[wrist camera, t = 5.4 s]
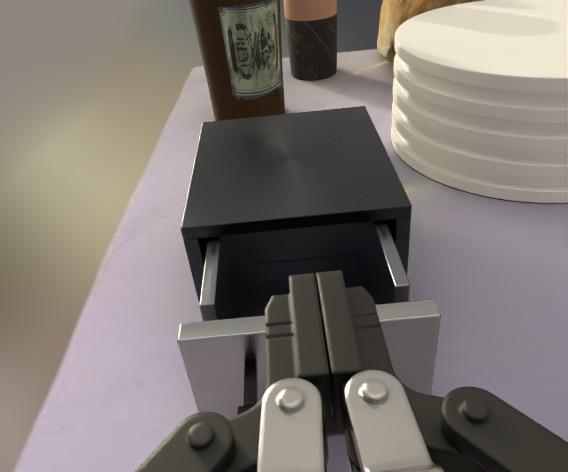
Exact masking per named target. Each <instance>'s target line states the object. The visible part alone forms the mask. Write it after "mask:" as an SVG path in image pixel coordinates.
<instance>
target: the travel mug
mask: <svg viewBox="0 0 568 472" xmlns="http://www.w3.org/2000/svg"><path fill="white" fill-rule="evenodd" d="M336 7H337V6H336V0H284V10H285V21H286V29H287V39H288V48H289V57H290V66H291V73H292V76H293V77H294V78H297V79H301V80H319V79H324V78H328V77H330V76H332V75H334V74H335V73H336V68H337V14H336V13H337V8H336Z"/></svg>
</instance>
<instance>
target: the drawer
mask: <svg viewBox="0 0 568 472" xmlns="http://www.w3.org/2000/svg"><path fill="white" fill-rule="evenodd" d="M338 270H341V271H342V274H343V278H344V283H345V287H346V288H351V287H361V286H362V287H363V288H364V289H365V290H366V291H367V292H368V293H369V294H370V295H371V296H372V297H373V299H374V303H375V306H376V310H377V315H378V317H379V320H380V324H381V328H382V331H383V335H384V338H385V342H386V345H387V349H388V353H389V356H390V360H391V363H392V367H393V370H394V373H395V374H396V376H397V378H398V379H399V380H400V381H401V382H402V383H403V384H404V385H405V386H407V387H408V388H410V389H412V390H414V391H416V392H419V393H423V394H427V395H431V390H432V382H433V374H434V366H435V358H436V350H437V342H438V334H439V326H440V318H441V315H440V312H439V310H438V308H437V305H436V303H435V301H434V299H430V300H419V301H409V294H410V283H409V281H408V278H407V275H406V273H405V270H404V267H403V265H402V262H401V259H400V257H399V254H398V251H397V249H396V246H395V243H394V241H393V238H392V235H391V233H390V230H389V228H388V225H387V222H386V220H379V221H368V222H358V223H348V224H338V225H328V226H318V227H308V228H297V229H287V230H277V231H267V232H257V233H247V234H237V235H227V236H216V237H208V242H207V250H206V258H205V266H204V273H203V281H202V289H201V297H200V305H199V306H200V310H201V314H202V318H203V321H202V322H192V323H182V324H180V328H179V334H178V340H177V341H178V345H179V348H180V351H181V355H182V358H183V361H184V365H185V368H186V371H187V375H188V378H189V381H190V385H191V388H192V391H193V395H194V398H195V401H196V405H197V408H198V411H199V412H207V411H209V412H216V413H219V414H221V415H223V416H224V417H225V418H226V419H229V418H231V417H233V416H236V415H238V414H241V413H243V412H245V411H247V410H249V409H250V408H252V407H253V406H254V405H256V404H257V403H258V402H259V400H260V399H261V398H262V396H263V394H264V392H265V389H266V384H267V375H266V334H265V327H266V326H265V308H266V306H267V304H268V303H269V301H270V299H271V297H272V296H275V295H284V294H290V285H289V276H291V275H300V274H310V273H314V276H315V283H316V290H317V282H316V273H319V272H328V271H338ZM331 411H332V405H331ZM332 426H333V434H330V435H327V436H336V435H345V434H344V433H338V434H336V432H335V426H334V419H333V412H332Z"/></svg>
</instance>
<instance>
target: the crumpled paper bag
mask: <svg viewBox="0 0 568 472" xmlns="http://www.w3.org/2000/svg"><path fill="white" fill-rule="evenodd" d="M477 1H486V0H383V4H382V7H381V12H380V24H379V36H378V40H377V48H378V53H379V54H380V55H382V56H383V57H384V58H385V59H387V60H388V61H391V62H394V57H395V55H396V52H395V48H394V47H395V33H396V30H397V29H398V27H399V26H400V25H401V24H403V23H404V22H405V21H407V20H409V19H411V18H413V17H415V16H417V15H419V14H422V13H425V12H428V11H431V10H435V9H439V8H443V7H447V6H452V5H457V4H463V3H470V2H477Z"/></svg>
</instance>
